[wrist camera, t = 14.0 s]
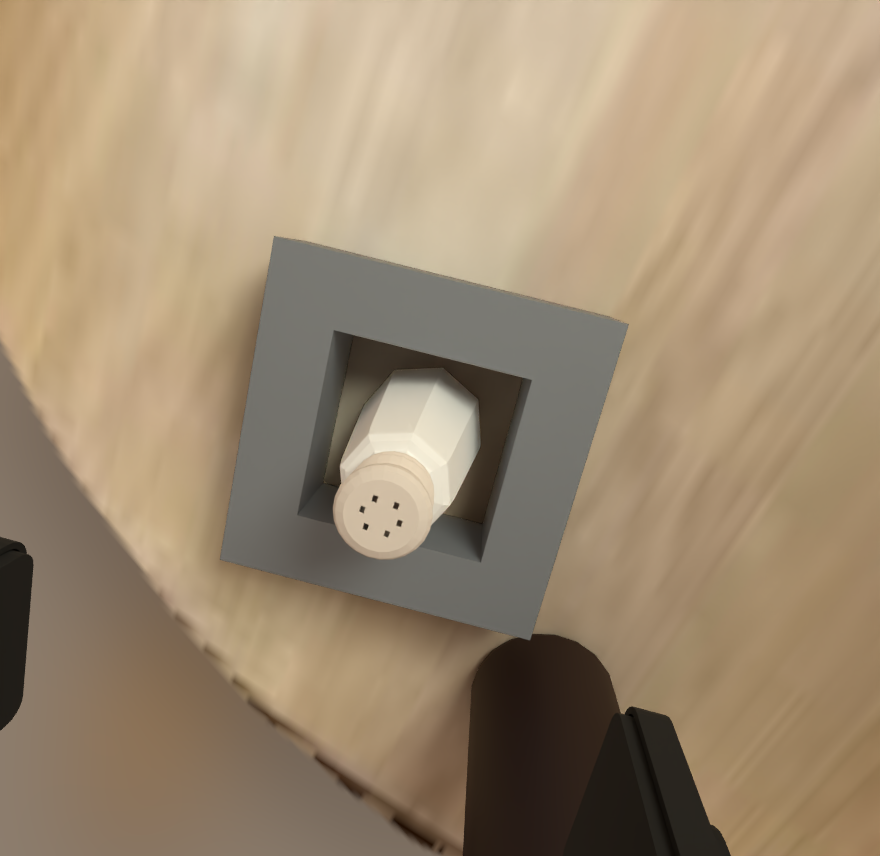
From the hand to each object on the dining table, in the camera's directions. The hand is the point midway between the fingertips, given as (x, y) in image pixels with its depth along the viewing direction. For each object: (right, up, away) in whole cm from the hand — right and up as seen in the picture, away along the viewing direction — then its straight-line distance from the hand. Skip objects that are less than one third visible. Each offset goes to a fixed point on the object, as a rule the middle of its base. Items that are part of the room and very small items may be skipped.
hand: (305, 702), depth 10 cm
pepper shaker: (+1, +4, +19) cm, 19 cm away
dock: (+1, +4, +18) cm, 19 cm away
